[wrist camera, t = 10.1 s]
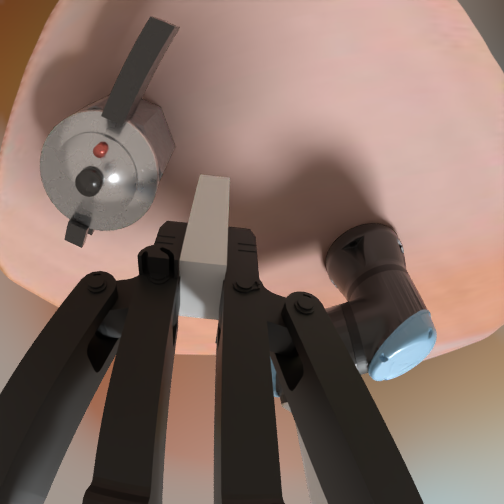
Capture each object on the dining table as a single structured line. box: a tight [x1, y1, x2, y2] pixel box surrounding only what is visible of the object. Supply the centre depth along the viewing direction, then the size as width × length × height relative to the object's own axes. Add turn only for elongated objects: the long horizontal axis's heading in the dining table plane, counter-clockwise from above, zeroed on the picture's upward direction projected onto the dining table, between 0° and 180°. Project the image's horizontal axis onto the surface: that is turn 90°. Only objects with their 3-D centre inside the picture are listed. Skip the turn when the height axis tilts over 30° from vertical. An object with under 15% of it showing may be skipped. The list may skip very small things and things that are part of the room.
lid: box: [40, 17, 180, 248], centre depth 28 cm, size 29×16×3 cm, turn 147°
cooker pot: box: [53, 31, 178, 235], centre depth 33 cm, size 29×15×9 cm, turn 148°
